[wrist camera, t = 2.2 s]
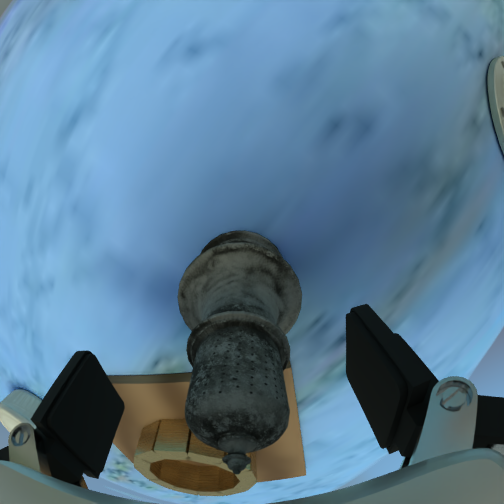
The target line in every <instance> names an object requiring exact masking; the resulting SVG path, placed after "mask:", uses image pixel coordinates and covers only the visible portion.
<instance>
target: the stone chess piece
mask: <svg viewBox="0 0 504 504" xmlns="http://www.w3.org/2000/svg"><path fill="white" fill-rule="evenodd" d="M301 301H302V292H301V288H300V284H299V280H298V278H297V276H296V274H295V273H294V271H293V269H292V267H291V266H290V265H289V264H288V263H287V262H286V261H285V260H284V259H283V257H282V256H281V254H280V252H279V251H278V249H277V247H276V246H275V245H274V244H272V243H271V242H270V241H269V240H268V239H267V238H265V237H263V236H261V235H259V234H257V233H253V232H249V231H231V232H228V233H224V234H221V235H219V236H218V237H216V238H214V239H213V240H211V241H210V242H209V243H208V244H207V245H206V246H205V248H204V249H203V250H202V252H201V254H200V255H199V256H197V257H196V258H195V260H194V261H193V262H192V263H191V264H190V265H189V266H188V267H187V268H186V270H185V273H184V275H183V277H182V279H181V281H180V284H179V291H178V303H179V309H180V313H181V315H182V317H183V319H184V321H185V323H186V325H187V326H188V327H189V328H190V330H191V331H192V332H191V334H190V336H189V338H188V342H187V350H186V351H187V355H188V360H189V362H190V364H191V365H192V367H193V370H192V375H191V379H190V384H189V389H188V393H187V398H186V403H185V420H186V422H187V425H188V427H189V428H190V430H191V431H192V433H193V434H194V435H195V436H196V437H197V438H198V439H199V440H200V441H202V442H203V443H205V444H206V445H209V446H211V447H213V448H215V449H218V450H221V451H224V452H227V453H228V454H227V455H226V456H224V457H223V458H222V461H223V463H225V464H227V466H228V468H229V469H230V470H232V471H233V473H234V474H237V475H238V474H240V473H241V471H242V470H244V469H245V468H246V465H248V464H250V463H251V458H250V457H248V456H247V455H246V453H249V452H255V451H258V450H261V449H264V448H266V447H268V446H270V445H272V444H274V443H275V442H276V441H277V440H279V439H280V437H281V436H282V435H283V434H284V432H285V431H286V429H287V427H288V423H289V415H290V408H289V403H288V397H287V391H286V386H285V380H284V375H283V371H284V370H285V369H286V366H287V364H288V362H289V359H290V346H289V343H288V340H287V337H286V334H287V333H288V332H289V331H290V329H291V328H292V326H293V325H294V324H295V322H296V320H297V318H298V315H299V312H300V309H301Z"/></svg>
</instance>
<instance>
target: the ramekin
mask: <svg viewBox="0 0 504 504" xmlns="http://www.w3.org/2000/svg"><path fill="white" fill-rule="evenodd" d="M41 402H42V400H41V399H40V398H38V397H37V396H35V395H34V394H32V393H30V392H28V391H26V390H22V389H20V390H19V389H17V390H14V391H13V392H11V393H10V394H9V395H8V396H7V397H6V398H5V399H4V400H3V401H2V402H0V421H1V423H2V424H3V425H4V426H5V428H6V429H7V430H8V431H9V432H11V431H12V429H13V428H14V427H15V426H17V425H18V424H20V423H29V424H31V425H32V427H33V428H34V429H36V425H35V424H34V423H33V422H32V421H31V420H30V419H31V417H32V416H33V414H34V413H35V411H36V409H37V408H38V406H39V405H40V403H41Z"/></svg>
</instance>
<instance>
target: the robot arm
mask: <svg viewBox="0 0 504 504" xmlns="http://www.w3.org/2000/svg"><path fill="white" fill-rule="evenodd" d="M488 95H489V103H490V108H491V114H492V118H493V122H494V126H495V130H496V134H497V137H498V140H499V144H500V146H501V149H502V151H503V154H504V56H501V57H497V58H494V59H493V61H492V62H491V63H490V66H489V70H488ZM346 374H347V378H348V380H349V382H350V385H351V387H352V389H353V391H354V393H355V395H356V397H357V399H358V401H359V403H360V405H361V407H362V409H363V411H364V413H365V415H366V418H367V420H368V422H369V424H370V426H371V428H372V430H373V432H374V434H375V437H376V439H377V441H378V443H379V445H380V447H381V448H382V449H384V448H387V450H388V452H389V454H391V453H393V452H396V451H398V450H399V452H400V454H401V456H404V459H403V461H402V464H401V467H400V469H399V470H397V471H394V472H391V473H388V474H386V475H383V476H380V477H377V478H374V479H371V480H368V481H365V482H362V483H360V484H356V485H353V486H350V487H346V488H343V489H339V490H335V491H332V492H328V493H323V494H319V495H314V496H310V497H305V498H300V499H295V500H289V501H283V502H276V503H268V504H504V398H502V397H491V396H481V395H478V394H477V389H476V388H475V386H474V384H473V383H472V382H471V381H469V380H467V379H465V378H463V377H458V376H452V377H447V378H444V379H442V380H441V381H438V379H437V378H436V377H435V376H434V375H433V373H432V372H431V371H430V370H429V369H428V367H427V366H426V365H425V364H424V363H423V361H422V360H421V359H420V358H419V357H418V356H417V354H416V353H415V352H414V351H413V350H412V349H411V347H410V346H409V345H408V344H407V343H406V342H405V341H404V339H403V338H402V337H401V336H400V335H399V334H397V333H393V332H392V331H391V330H390V329H389V328H388V326H387V325H386V324H385V323H384V322H383V321H382V320H381V318H380V317H379V316H378V315H377V314H376V313H375V312H374V311H373V309H372V308H371V307H370V306H369V305H368V304H364V305H361V306H357V307H354V308H351V310H350V313H348V314H346ZM124 409H125V405H124V402H123V400H122V399H121V397H120V396H119V394H118V393H117V391H116V389H115V388H114V386H113V385H112V383H111V382H110V380H109V378H108V377H107V375H106V373H105V372H104V370H103V368H102V366H101V365H100V363H99V361H98V359H97V358H96V356H95V355H94V354H92V353H91V352H90V351H77V352H76V353H75V354H74V355H73V356H72V358H71V359H70V361H69V362H68V363H67V365H66V366H65V368H64V369H63V370H62V372H61V373H60V375H59V376H58V378H57V379H56V380H55V382H54V383H53V385H52V386H51V388H50V389H49V391H48V392H47V394H46V395H45V397H44V398H43V400H42V402H41V403H40V405H39V406H38V408H37V409H36V411H35V413H34V414H33V416H32V417H31V419H30V420H31V421H32V422H33V423H34V424H35V425H36V429H34V428H33V427H32V425H31V424H29V423H20V424H18V425H17V426H15V427H14V428H13V429H12V431H11V432H10V435H9V440H8V443H9V446H7V447H5V448H3V449H1V450H0V504H157V503H150V502H143V501H137V500H131V499H126V498H121V497H116V496H112V495H107V494H103V493H100V492H96V491H92V490H89V489H88V487H87V485H86V483H85V480H84V478H83V476H82V475H83V473H84V474H86V475H87V476H89V477H93V478H97V479H98V478H99V475H100V473H101V472H102V471H103V469H104V466H105V463H106V460H107V457H108V454H109V451H110V448H111V445H112V442H113V440H114V437H115V434H116V431H117V428H118V426H119V423H120V420H121V417H122V415H123V412H124Z"/></svg>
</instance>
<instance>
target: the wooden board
mask: <svg viewBox="0 0 504 504" xmlns="http://www.w3.org/2000/svg"><path fill="white" fill-rule="evenodd" d="M191 375H192V372H191V373H179V374H163V375H136V376H107V377H108V378H109V380H110V382H111V383H112V385H113V386H114V388H115V389H116V391H117V393H118V394H119V396H120V397H121V399H122V400H123V402H124V405H125V409H124V412H123V415H122V417H121V420H120V423H119V426H118V428H117V431H116V434H115V437H114V440H113V443H114V444H115V446H116V447H117V448H118V449H119V450H120V451H121V452H122V453H123V454H124V455H125V456H126V457H127V458H128V459H129V460H130V461H131V462H132V463H134V454H135V451H136V448H137V444H138V441H139V438H140V435H141V432H142V428H143V427H144V426H146V425H149V424H151V423H153V422H155V421H157V420H159V419H160V420H162V419H185V403H186V398H187V393H188V389H189V384H190V379H191ZM283 375H284V380H285V386H286V391H287V397H288V403H289V408H290V415H289V423H288V427H287V429H286V431H285V432H284V434H283V435H282V436H281V437H280V439H279V440H277V441H276V442H275V443H274V444H272V445H270V446H268V447H266V448H264V449H261V450H258V451H256V464H257V482H264V481H272V480H280V479H287V478H293V477H299V476H304V475H306V469H305V461H304V453H303V446H302V438H301V431H300V424H299V417H298V410H297V403H296V396H295V389H294V382H293V376H292V369H291V364H290V360H289V362H288V364H287V366H286V369H285V370H284V371H283ZM178 461H180V462H184V463H189V464H193V465H198V466H215V465H210V464H205V463H200V462H195V461H190V460H178Z"/></svg>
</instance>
